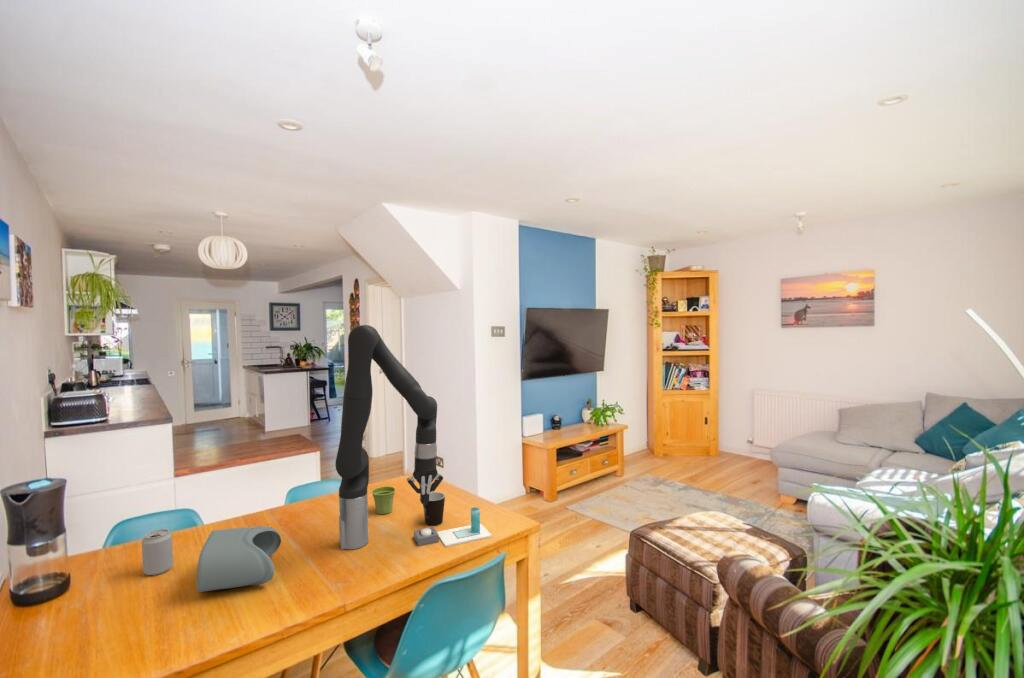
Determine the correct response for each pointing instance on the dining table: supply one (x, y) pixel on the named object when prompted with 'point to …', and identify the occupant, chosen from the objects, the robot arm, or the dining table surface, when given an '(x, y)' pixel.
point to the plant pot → (383, 499)
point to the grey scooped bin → (237, 558)
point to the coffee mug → (434, 509)
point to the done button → (425, 532)
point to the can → (157, 552)
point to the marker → (475, 520)
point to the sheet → (462, 535)
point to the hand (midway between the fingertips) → (424, 503)
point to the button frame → (426, 537)
